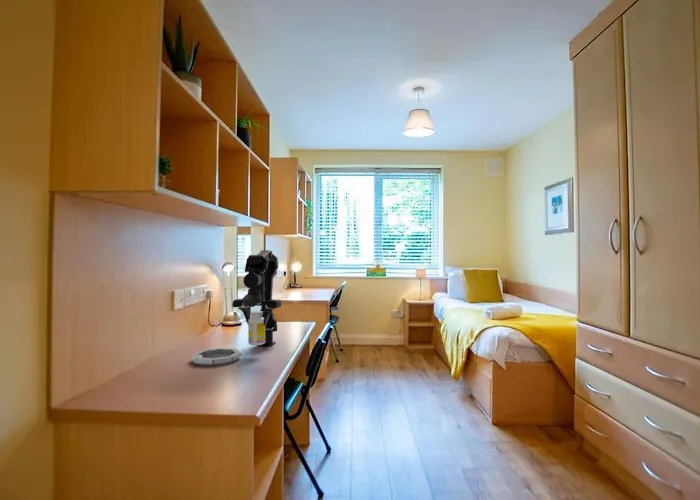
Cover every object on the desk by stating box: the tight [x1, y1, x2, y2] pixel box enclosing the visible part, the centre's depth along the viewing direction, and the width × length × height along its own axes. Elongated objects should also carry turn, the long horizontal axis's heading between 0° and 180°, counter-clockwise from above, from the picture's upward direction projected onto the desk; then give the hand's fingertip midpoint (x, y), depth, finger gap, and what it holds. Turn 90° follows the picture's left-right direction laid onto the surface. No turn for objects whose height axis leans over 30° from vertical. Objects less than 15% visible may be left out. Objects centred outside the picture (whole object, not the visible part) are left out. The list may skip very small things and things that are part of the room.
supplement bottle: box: [247, 310, 265, 346], centre depth 153 cm, size 7×7×13 cm
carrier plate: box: [191, 347, 242, 367], centre depth 147 cm, size 17×17×2 cm
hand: (256, 324), depth 153 cm, fingers closed on supplement bottle, 7 cm apart
